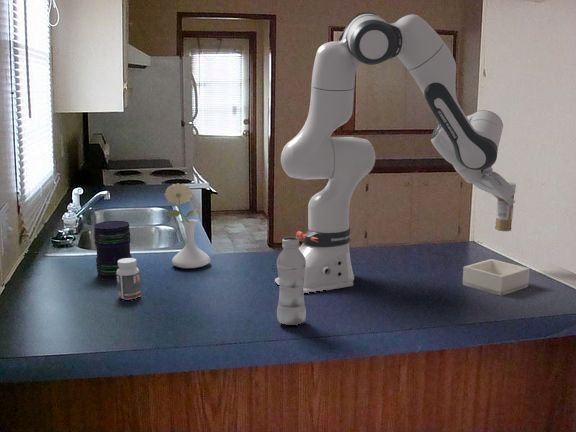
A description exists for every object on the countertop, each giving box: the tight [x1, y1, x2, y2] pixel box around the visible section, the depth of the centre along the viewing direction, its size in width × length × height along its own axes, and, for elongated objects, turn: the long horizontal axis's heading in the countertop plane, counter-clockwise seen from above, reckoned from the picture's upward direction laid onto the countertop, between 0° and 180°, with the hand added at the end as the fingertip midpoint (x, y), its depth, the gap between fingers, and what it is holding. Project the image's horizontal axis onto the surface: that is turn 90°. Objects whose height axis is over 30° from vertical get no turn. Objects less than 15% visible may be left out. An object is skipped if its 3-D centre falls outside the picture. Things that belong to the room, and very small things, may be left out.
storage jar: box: [93, 220, 133, 281], centre depth 190 cm, size 10×10×15 cm
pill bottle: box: [116, 257, 142, 299], centre depth 171 cm, size 6×6×10 cm
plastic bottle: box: [276, 236, 307, 326], centre depth 151 cm, size 6×7×20 cm
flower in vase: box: [163, 182, 211, 269], centre depth 198 cm, size 13×11×25 cm
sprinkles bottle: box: [494, 181, 517, 232], centre depth 188 cm, size 5×5×14 cm
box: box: [462, 258, 531, 297], centre depth 178 cm, size 12×12×5 cm
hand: (507, 201), depth 188 cm, fingers closed on sprinkles bottle, 4 cm apart
